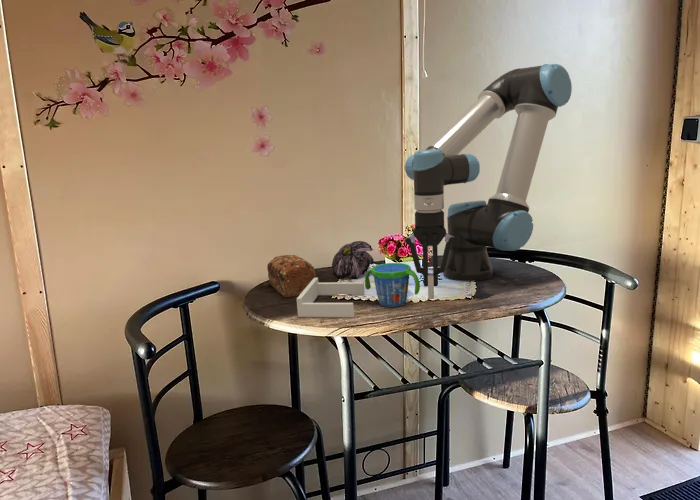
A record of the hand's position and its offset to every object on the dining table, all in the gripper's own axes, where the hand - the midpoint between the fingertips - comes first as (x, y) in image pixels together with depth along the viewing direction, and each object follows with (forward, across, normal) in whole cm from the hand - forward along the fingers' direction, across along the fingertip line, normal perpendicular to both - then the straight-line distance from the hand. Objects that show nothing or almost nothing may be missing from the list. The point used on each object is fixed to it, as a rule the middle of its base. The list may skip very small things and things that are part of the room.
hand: (431, 297), depth 146 cm
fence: (+2, -26, -1) cm, 26 cm away
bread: (+2, -43, +15) cm, 45 cm away
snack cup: (+2, -10, 0) cm, 11 cm away
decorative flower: (+2, -26, +30) cm, 40 cm away
